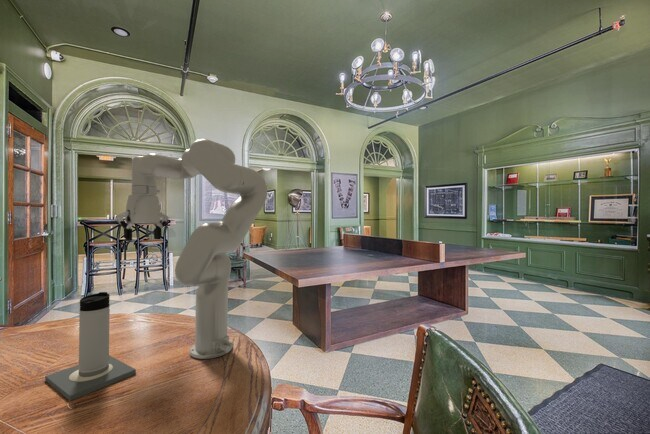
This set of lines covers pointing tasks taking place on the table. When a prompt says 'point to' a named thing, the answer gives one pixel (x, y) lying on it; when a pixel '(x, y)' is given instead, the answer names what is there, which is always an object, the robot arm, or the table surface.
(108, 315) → the travel mug
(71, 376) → the mat
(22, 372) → the table surface
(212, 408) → the table surface
